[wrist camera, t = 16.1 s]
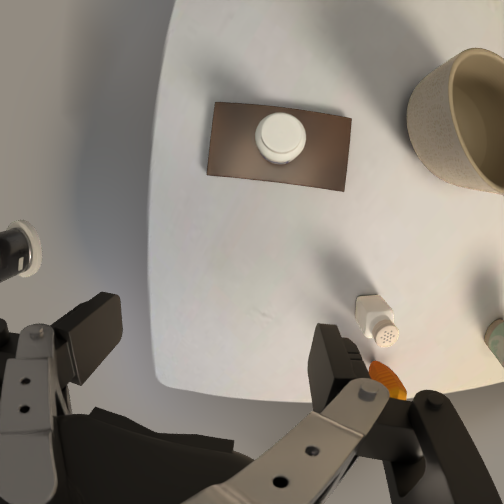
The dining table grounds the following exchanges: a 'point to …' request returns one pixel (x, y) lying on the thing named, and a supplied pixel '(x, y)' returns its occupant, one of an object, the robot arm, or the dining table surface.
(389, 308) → the pepper shaker
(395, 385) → the carrot
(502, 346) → the coffee cup
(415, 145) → the planter
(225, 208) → the dining table surface
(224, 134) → the board
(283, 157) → the pill bottle
